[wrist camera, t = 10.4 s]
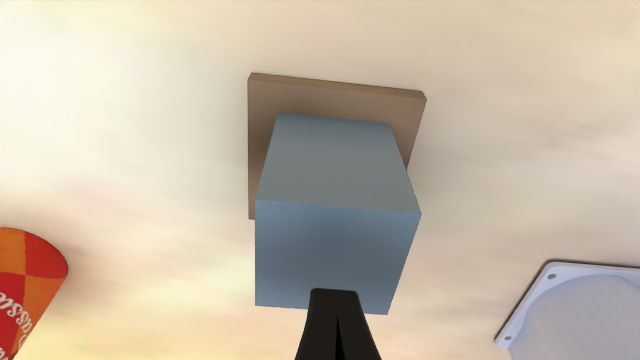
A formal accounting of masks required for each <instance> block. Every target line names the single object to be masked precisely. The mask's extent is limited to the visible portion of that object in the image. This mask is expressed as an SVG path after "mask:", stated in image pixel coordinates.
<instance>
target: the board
mask: <svg viewBox="0 0 640 360" xmlns="http://www.w3.org/2000/svg"><path fill="white" fill-rule="evenodd" d="M426 101H427V99H426V97H425V96H424V94H423V92H422V91H414V90H405V89H396V88H387V87H377V86H368V85H359V84H350V83H341V82H331V81H322V80H313V79H304V78H295V77H286V76H276V75H267V74H258V73H251V75H250V76H249V78H248V199H249V219H253V220H255V198H256V194H257V190H258V187H259V183H260V179H261V175H262V172H263V168H264V164H265V160H266V156H267V153H268V149H269V145H270V141H271V137H272V134H273V130H274V126H275V122H276V118H277V115H278V113H288V114H299V115H309V116H319V117H329V118H339V119H350V120H360V121H370V122H380V123H389V124H390V127H391V129H392V132H393V135H394V138H395V141H396V143H397V146H398V149H399V152H400V155H401V157H402V160H403V163H404V166H405V169H407V166H408V163H409V159H410V156H411V152H412V149H413V145H414V142H415V138H416V135H417V132H418V128H419V125H420V121H421V118H422V114H423V111H424V108H425V104H426Z"/></svg>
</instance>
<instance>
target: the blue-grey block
mask: <svg viewBox="0 0 640 360" xmlns="http://www.w3.org/2000/svg"><path fill="white" fill-rule="evenodd" d="M421 215H422V214H421V211H420V208H419V205H418V202H417V200H416V197H415V194H414V191H413V188H412V186H411V183H410V180H409V177H408V174H407V172H406V169H405V166H404V163H403V160H402V157H401V155H400V152H399V149H398V146H397V143H396V141H395V138H394V135H393V132H392V129H391V127H390V124H389V123H380V122H370V121H360V120H350V119H339V118H329V117H319V116H309V115H299V114H288V113H278V115H277V118H276V122H275V126H274V130H273V134H272V137H271V141H270V145H269V149H268V153H267V156H266V160H265V164H264V168H263V172H262V175H261V179H260V183H259V187H258V190H257V194H256V198H255V306H267V307H281V308H295V309H308V306H309V299H310V292H311V290H312V289H313V288H325V289H338V290H351V291H356V292H357V293H358V296H359V300H360V303H361V307H362V310H363V313H366V314H380V315H387V314H388V311H389V308H390V305H391V302H392V299H393V296H394V294H395V291H396V288H397V285H398V282H399V279H400V276H401V273H402V270H403V267H404V264H405V261H406V258H407V256H408V253H409V250H410V247H411V244H412V241H413V238H414V235H415V232H416V229H417V226H418V223H419V220H420V218H421Z"/></svg>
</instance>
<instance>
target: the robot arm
mask: <svg viewBox="0 0 640 360" xmlns="http://www.w3.org/2000/svg"><path fill="white" fill-rule="evenodd" d="M495 345H496V347H497V348H500V349H508V351H509V353H510V355H511V357H512V360H640V269H635V268H624V267H612V266H600V265H588V264H576V263H565V262H551V263H549V264H547V265H546V266H545V268H544V269H543V271H542V272H541V274H540V275H539V276H538V278H537V279H536V281H535V282H534V284H533V285H532V287H531V288H530V290H529V291H528V293H527V294H526V296H525V297H524V299H523V300H522V302H521V303H520V305H519V306H518V307H517V309H516V310H515V312H514V313H513V315H512V316H511V318H510V319H509V321H508V322H507V324H506V325H505V327H504V328H503V330H502V331H501V333H500V334H499V335H498V337H497V338H496V340H495ZM295 360H382V359H381V357H380V355H379V352H378V350H377V348H376V345H375V343H374V340H373V338H372V335H371V332H370V330H369V327H368V324H367V322H366V319H365V316H364V313H363V310H362V307H361V303H360V300H359V296H358V293H357V292H356V291H351V290H338V289H325V288H313V289H312V290H311V292H310V299H309V306H308V313H307V320H306V324H305V328H304V331H303V335H302V338H301V341H300V344H299V348H298V351H297V354H296V357H295Z"/></svg>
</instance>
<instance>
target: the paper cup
mask: <svg viewBox="0 0 640 360" xmlns="http://www.w3.org/2000/svg"><path fill="white" fill-rule="evenodd" d="M67 273H68V267H67V263H66V261H65V259H64V257H63V256H62V255H61V253H60V252H59V251H58V250H57V249H56V248H54V247H53V246H52V245H51V244H49V243H48V242H46V241H45V240H43V239H41V238H39V237H37V236H35V235H33V234H30V233H28V232H24V231H21V230H17V229H11V228H0V360H13V358H14V357H15V355H16V354H17V352H18V351H19V349H20V348H21V346H22V345H23V343H24V342H25V340H26V339H27V337H28V336H29V334H30V333H31V331H32V330H33V328H34V327H35V325H36V324H37V322H38V321H39V319H40V318H41V316H42V315H43V313H44V311H45V310H46V308H47V307H48V305H49V304H50V302H51V301H52V299H53V298H54V296H55V294H56V293H57V291H58V290H59V288H60V287H61V285H62V283H63V281H64V280H65V278H66V276H67Z"/></svg>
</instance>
